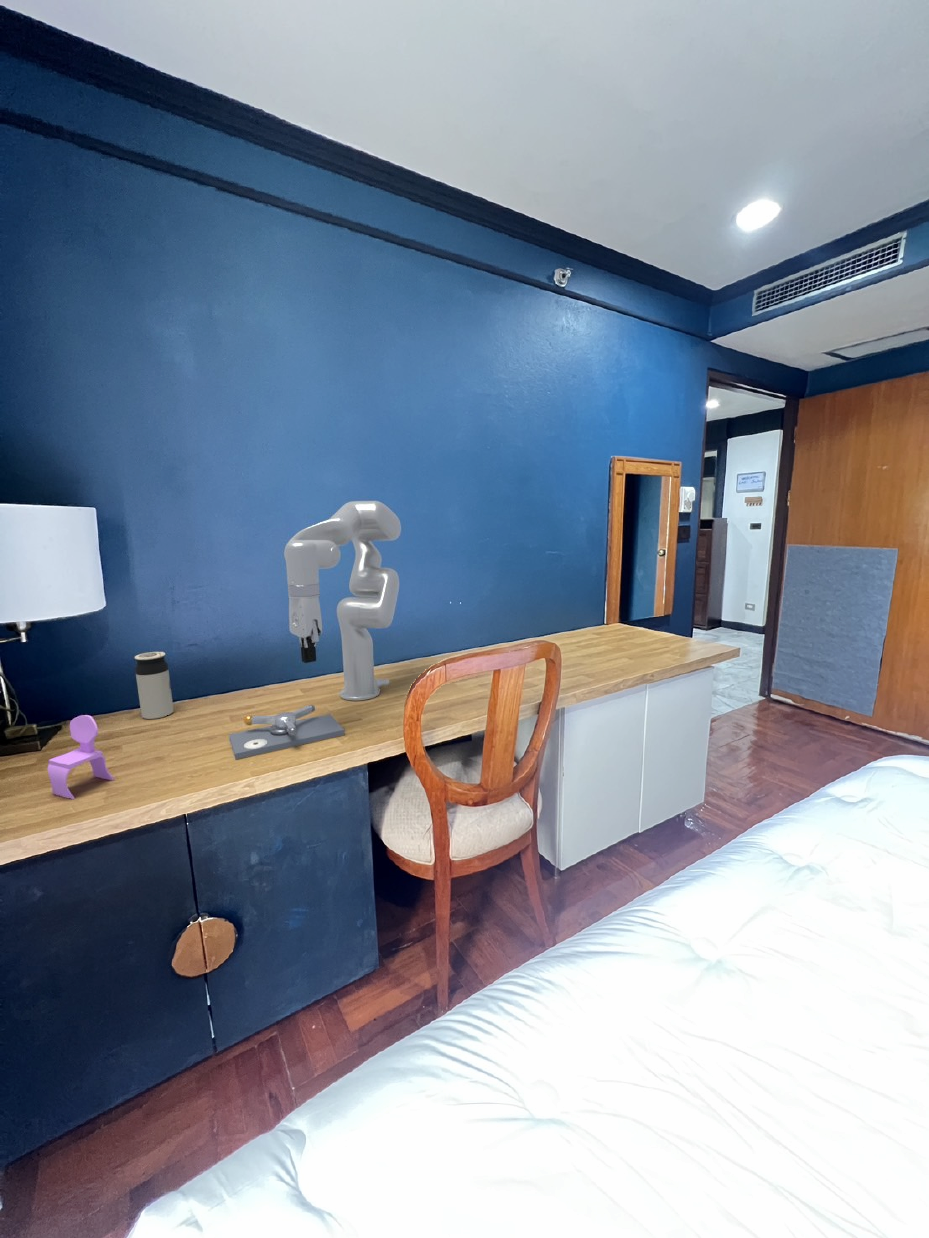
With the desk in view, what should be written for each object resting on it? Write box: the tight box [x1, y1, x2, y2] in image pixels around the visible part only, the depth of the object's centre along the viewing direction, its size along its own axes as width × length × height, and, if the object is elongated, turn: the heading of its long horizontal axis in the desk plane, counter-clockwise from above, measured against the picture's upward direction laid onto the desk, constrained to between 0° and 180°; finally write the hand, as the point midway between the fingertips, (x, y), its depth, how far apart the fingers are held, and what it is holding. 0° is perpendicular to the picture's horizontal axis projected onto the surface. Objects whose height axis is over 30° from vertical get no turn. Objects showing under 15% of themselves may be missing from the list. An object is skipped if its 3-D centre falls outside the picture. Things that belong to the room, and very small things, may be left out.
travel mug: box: [134, 651, 175, 720], centre depth 143 cm, size 8×8×18 cm
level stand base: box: [228, 713, 345, 760], centre depth 128 cm, size 26×13×2 cm, turn 121°
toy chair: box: [47, 714, 115, 800], centre depth 103 cm, size 8×9×15 cm
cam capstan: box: [243, 704, 316, 736], centre depth 128 cm, size 16×17×4 cm
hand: (309, 661), depth 128 cm, fingers closed
